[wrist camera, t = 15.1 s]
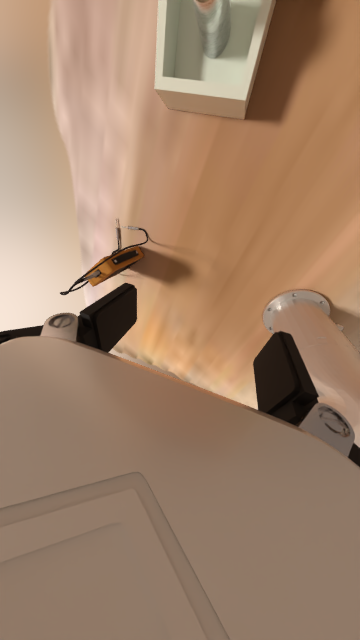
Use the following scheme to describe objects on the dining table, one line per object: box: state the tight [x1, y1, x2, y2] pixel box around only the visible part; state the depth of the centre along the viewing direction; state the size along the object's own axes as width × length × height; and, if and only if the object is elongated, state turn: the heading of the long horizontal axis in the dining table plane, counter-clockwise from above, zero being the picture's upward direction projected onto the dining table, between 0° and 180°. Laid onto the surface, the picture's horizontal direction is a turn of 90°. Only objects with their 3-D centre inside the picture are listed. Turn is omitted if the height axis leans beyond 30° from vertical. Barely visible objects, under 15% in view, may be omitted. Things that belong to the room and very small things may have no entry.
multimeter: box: [60, 219, 148, 295], centre depth 31 cm, size 15×10×20 cm
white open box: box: [155, 0, 276, 120], centre depth 18 cm, size 12×12×5 cm
